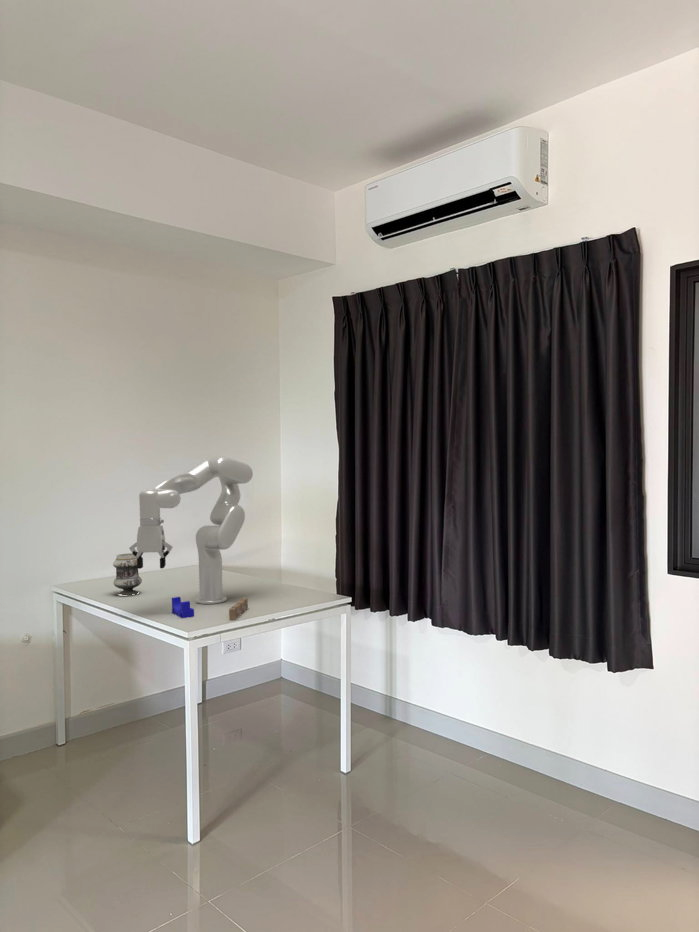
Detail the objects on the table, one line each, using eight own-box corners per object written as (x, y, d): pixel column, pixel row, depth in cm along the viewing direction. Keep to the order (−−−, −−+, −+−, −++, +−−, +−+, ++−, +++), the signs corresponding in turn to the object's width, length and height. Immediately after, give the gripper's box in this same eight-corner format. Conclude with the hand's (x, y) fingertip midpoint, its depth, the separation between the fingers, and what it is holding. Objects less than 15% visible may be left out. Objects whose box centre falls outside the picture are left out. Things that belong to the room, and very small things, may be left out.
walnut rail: (242, 608, 276) (242, 598, 276) (247, 608, 276) (247, 598, 276) (229, 620, 256) (229, 609, 256) (234, 620, 256) (234, 609, 256)
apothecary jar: (129, 590, 320) (128, 551, 320) (147, 593, 313) (146, 553, 313) (107, 595, 310) (106, 555, 309) (126, 598, 303) (125, 556, 303)
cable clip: (194, 617, 264) (193, 601, 264) (182, 618, 261) (182, 602, 261) (183, 611, 274) (182, 596, 274) (172, 613, 271) (171, 597, 271)
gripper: (175, 521, 272) (176, 566, 272) (132, 522, 273) (133, 566, 273) (168, 523, 264) (170, 569, 264) (124, 524, 266) (125, 569, 266)
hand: (151, 567), depth 269 cm, fingers open, 8 cm apart
